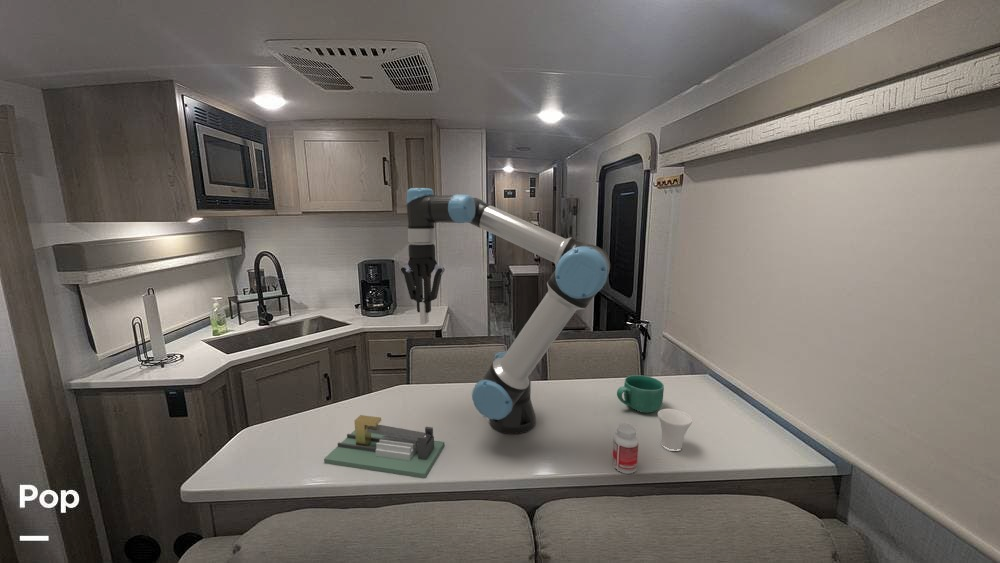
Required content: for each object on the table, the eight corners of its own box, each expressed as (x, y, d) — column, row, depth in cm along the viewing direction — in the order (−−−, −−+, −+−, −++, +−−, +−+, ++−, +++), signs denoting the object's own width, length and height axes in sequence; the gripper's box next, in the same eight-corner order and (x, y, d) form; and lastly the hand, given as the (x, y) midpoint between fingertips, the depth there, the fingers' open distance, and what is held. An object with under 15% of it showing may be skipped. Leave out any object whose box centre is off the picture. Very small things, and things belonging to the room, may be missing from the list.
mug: (647, 397, 135) (649, 373, 134) (670, 414, 123) (672, 388, 122) (606, 402, 132) (607, 377, 131) (625, 420, 120) (627, 393, 118)
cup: (647, 442, 108) (650, 411, 106) (671, 435, 111) (673, 405, 110) (672, 460, 100) (675, 426, 98) (696, 452, 103) (699, 419, 102)
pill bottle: (641, 469, 96) (644, 430, 95) (626, 478, 93) (629, 438, 91) (622, 456, 101) (624, 419, 100) (607, 464, 98) (609, 426, 96)
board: (444, 445, 106) (443, 422, 105) (424, 478, 93) (424, 451, 92) (354, 433, 112) (353, 411, 111) (324, 462, 99) (322, 437, 98)
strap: (431, 438, 102) (431, 432, 101) (426, 444, 99) (426, 438, 98) (372, 427, 105) (372, 421, 105) (366, 433, 102) (366, 427, 102)
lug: (382, 442, 105) (381, 417, 104) (377, 448, 102) (375, 423, 101) (362, 439, 107) (360, 415, 105) (356, 446, 104) (354, 420, 102)
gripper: (447, 243, 108) (449, 320, 112) (406, 242, 110) (409, 318, 114) (438, 244, 100) (440, 327, 104) (394, 244, 103) (398, 325, 107)
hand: (424, 322), depth 109 cm, fingers closed
